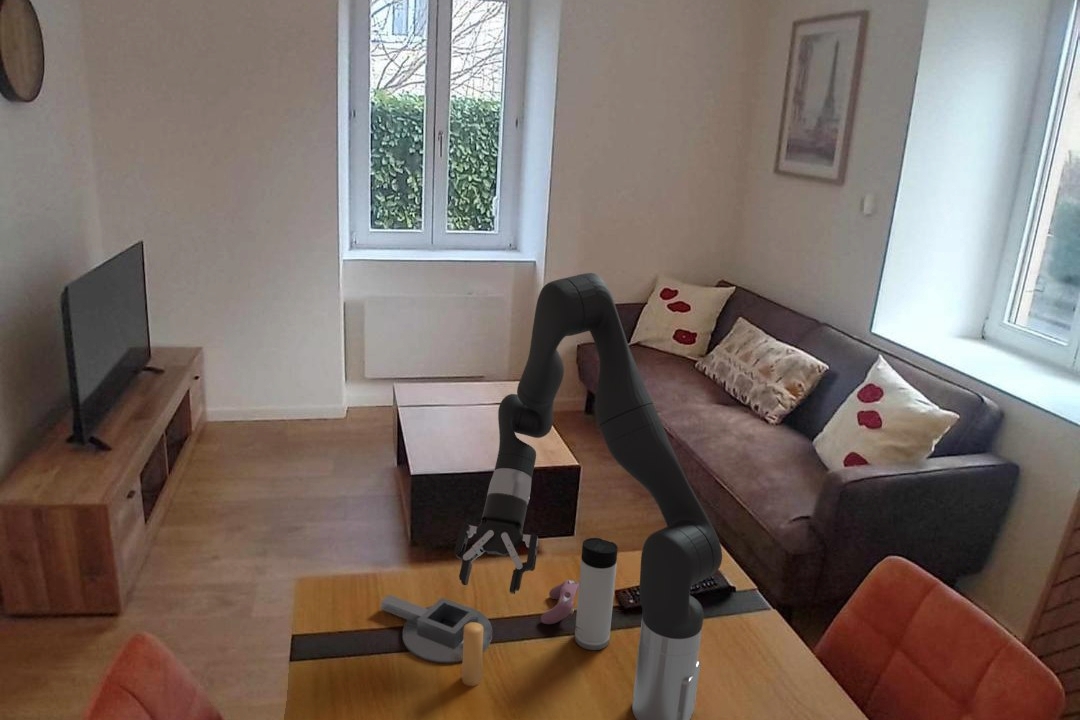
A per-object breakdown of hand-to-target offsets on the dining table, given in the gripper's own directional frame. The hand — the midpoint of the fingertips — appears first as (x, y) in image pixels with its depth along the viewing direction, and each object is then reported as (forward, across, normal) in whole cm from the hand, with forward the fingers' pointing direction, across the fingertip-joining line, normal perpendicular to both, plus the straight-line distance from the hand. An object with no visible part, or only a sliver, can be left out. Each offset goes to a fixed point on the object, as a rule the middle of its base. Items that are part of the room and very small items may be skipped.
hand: (488, 588), depth 141 cm
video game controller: (-1, +11, +19) cm, 22 cm away
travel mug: (+3, +18, +14) cm, 23 cm away
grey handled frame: (+7, -10, +10) cm, 16 cm away
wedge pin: (+15, 0, +3) cm, 15 cm away
